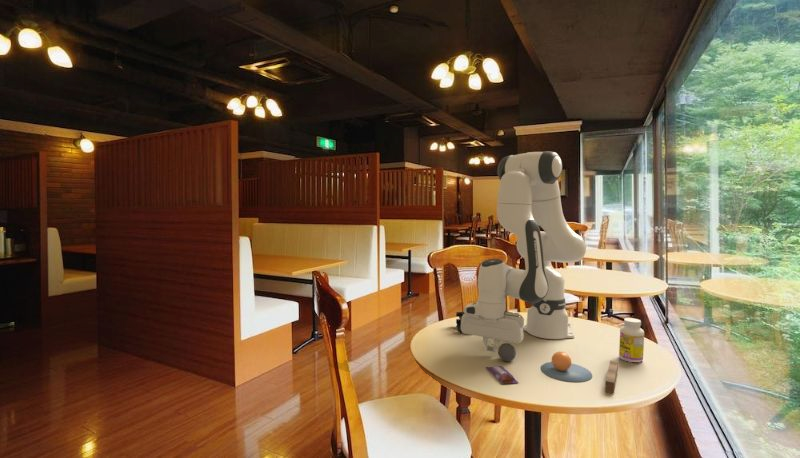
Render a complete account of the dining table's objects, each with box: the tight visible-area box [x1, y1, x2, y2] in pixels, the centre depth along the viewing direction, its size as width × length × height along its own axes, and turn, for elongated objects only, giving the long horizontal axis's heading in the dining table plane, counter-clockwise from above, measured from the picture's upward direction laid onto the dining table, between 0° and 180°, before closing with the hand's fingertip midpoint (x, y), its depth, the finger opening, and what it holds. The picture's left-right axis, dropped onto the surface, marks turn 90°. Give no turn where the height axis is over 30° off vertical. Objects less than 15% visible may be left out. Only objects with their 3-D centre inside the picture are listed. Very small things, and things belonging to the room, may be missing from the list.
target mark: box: [540, 361, 593, 383], centre depth 117 cm, size 14×14×1 cm
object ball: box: [551, 351, 572, 371], centre depth 118 cm, size 6×6×6 cm
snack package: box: [485, 365, 520, 385], centre depth 114 cm, size 12×2×5 cm
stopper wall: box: [604, 360, 619, 394], centre depth 111 cm, size 16×2×3 cm, turn 148°
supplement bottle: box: [618, 317, 645, 363], centre depth 126 cm, size 7×7×13 cm
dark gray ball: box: [497, 342, 517, 362], centre depth 125 cm, size 6×6×6 cm
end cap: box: [455, 311, 465, 334], centre depth 156 cm, size 10×7×7 cm
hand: (490, 350), depth 129 cm, fingers closed
